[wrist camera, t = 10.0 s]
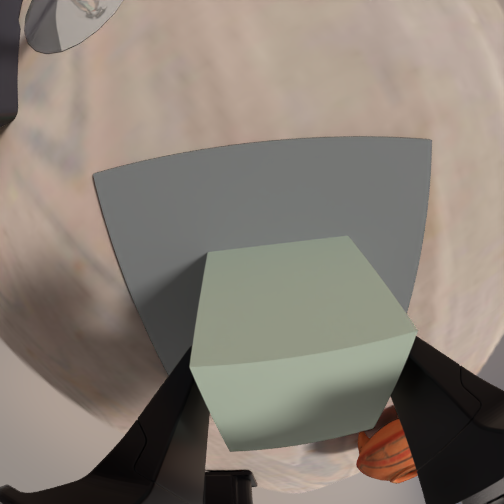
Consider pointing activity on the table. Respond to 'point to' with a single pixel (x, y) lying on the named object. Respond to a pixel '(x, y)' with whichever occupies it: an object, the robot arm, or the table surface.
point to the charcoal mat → (260, 215)
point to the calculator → (9, 59)
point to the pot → (386, 454)
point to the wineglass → (65, 22)
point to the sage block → (296, 343)
